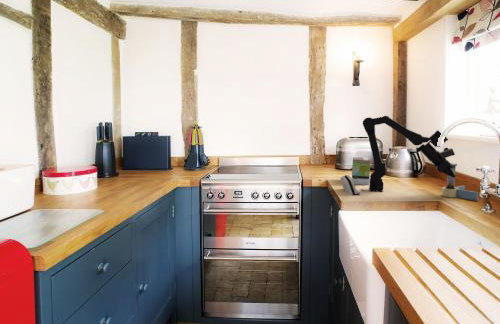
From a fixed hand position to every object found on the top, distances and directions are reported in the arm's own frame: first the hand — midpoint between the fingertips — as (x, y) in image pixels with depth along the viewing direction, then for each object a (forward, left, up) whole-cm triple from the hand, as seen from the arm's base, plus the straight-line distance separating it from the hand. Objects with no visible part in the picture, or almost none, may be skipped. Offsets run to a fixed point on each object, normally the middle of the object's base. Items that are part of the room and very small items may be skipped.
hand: (454, 176), depth 185 cm
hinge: (-50, -1, -10) cm, 51 cm away
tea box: (-42, +30, -10) cm, 53 cm away
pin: (-1, 0, -7) cm, 7 cm away
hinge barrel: (+2, 0, -10) cm, 10 cm away
